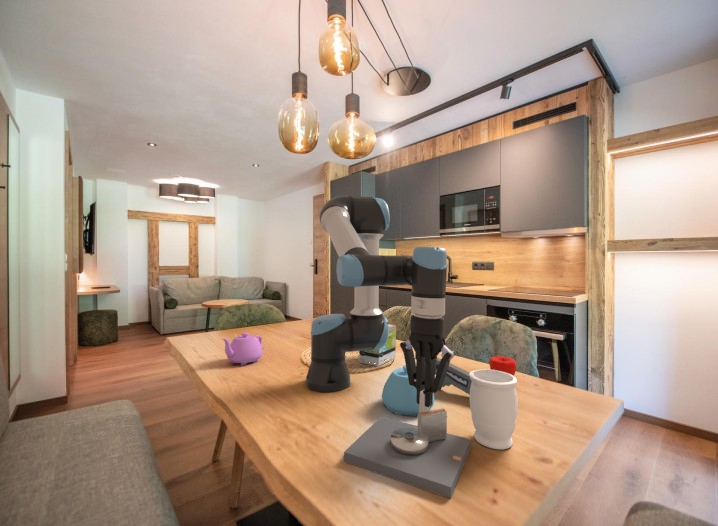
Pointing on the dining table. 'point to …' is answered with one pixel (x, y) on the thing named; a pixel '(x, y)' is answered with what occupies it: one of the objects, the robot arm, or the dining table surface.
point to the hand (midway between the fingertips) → (423, 419)
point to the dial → (421, 433)
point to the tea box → (381, 351)
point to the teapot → (244, 349)
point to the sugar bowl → (401, 394)
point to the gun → (456, 377)
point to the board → (410, 458)
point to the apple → (503, 364)
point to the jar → (493, 407)
